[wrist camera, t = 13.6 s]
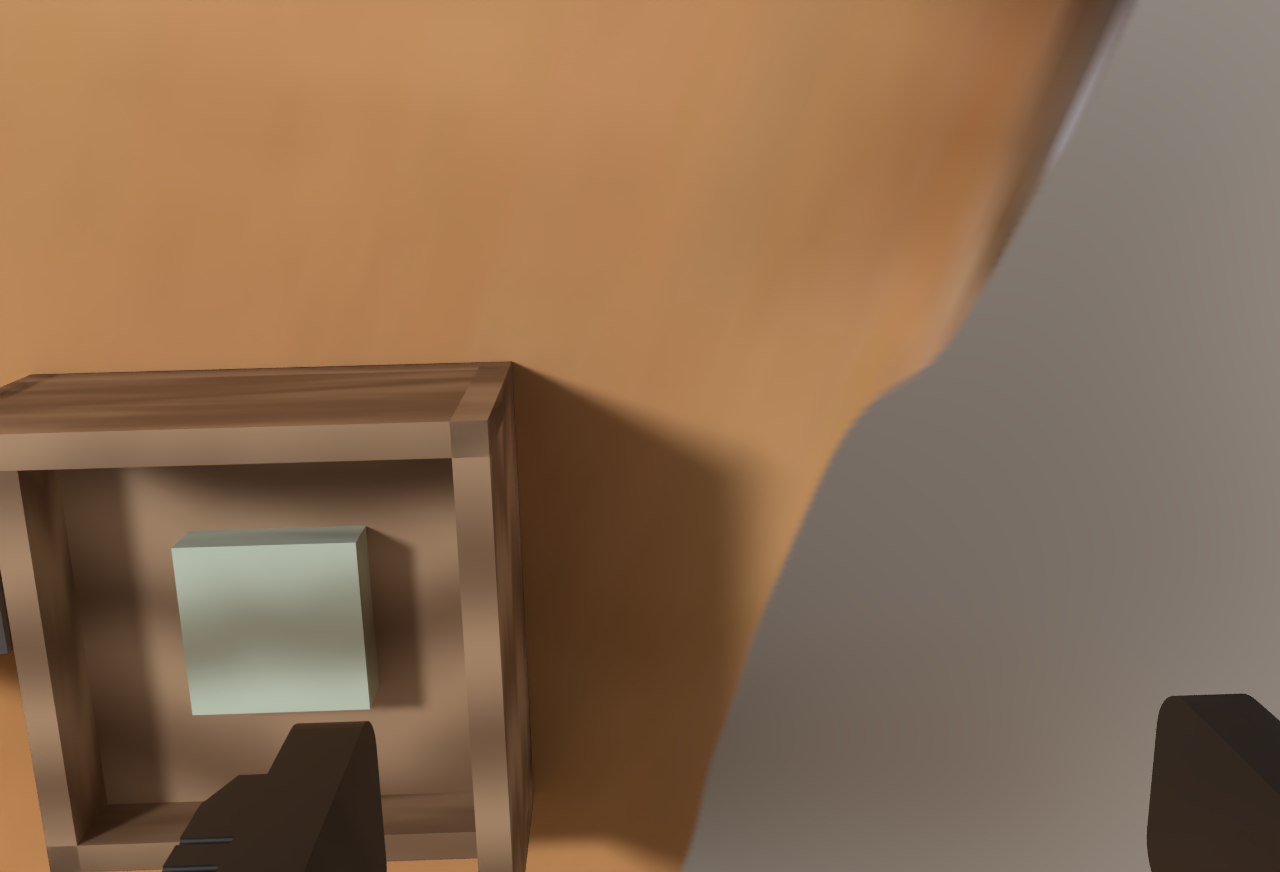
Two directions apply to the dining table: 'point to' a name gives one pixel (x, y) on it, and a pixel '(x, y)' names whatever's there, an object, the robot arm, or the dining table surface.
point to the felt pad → (4, 627)
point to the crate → (267, 596)
